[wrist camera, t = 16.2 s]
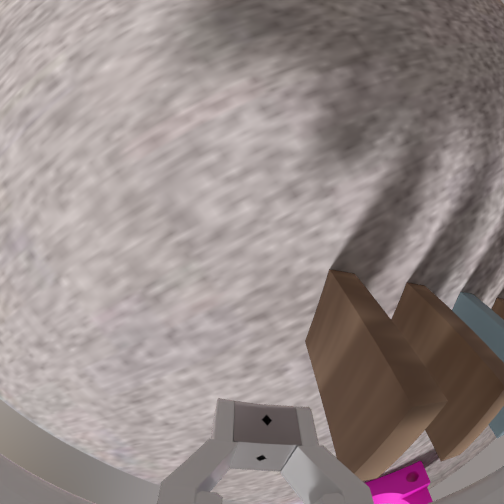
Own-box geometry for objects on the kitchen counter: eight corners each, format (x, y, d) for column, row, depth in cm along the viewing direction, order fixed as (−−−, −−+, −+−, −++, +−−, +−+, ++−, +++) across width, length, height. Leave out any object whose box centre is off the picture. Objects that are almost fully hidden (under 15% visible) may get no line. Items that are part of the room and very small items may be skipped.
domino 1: (354, 273, 16) (448, 400, 6) (328, 343, 17) (376, 478, 8) (329, 269, 16) (412, 406, 6) (305, 341, 17) (343, 483, 8)
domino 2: (424, 285, 16) (520, 382, 7) (396, 347, 18) (460, 454, 8) (406, 282, 16) (505, 387, 7) (378, 346, 18) (441, 461, 8)
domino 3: (433, 348, 18) (497, 438, 9) (460, 291, 17) (547, 372, 7) (445, 348, 18) (508, 432, 9) (472, 293, 17) (555, 369, 7)
